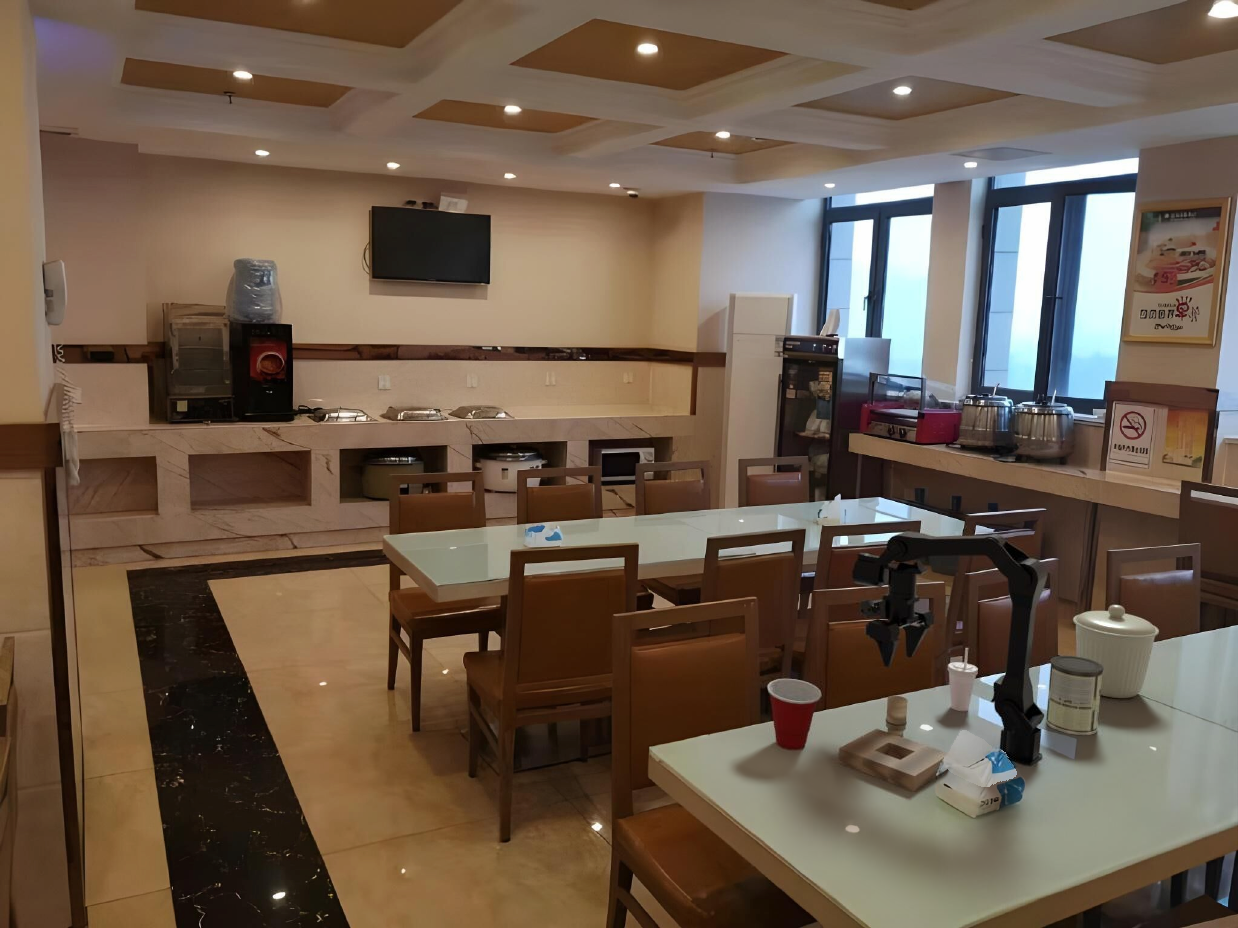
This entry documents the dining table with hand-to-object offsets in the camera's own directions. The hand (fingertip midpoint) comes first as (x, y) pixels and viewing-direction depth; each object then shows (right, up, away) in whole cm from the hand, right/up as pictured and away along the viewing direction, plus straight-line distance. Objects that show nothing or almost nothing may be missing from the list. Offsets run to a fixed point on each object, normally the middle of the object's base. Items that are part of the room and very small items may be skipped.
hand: (898, 661), depth 206 cm
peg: (-2, -14, -6) cm, 16 cm away
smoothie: (+17, -13, +10) cm, 23 cm away
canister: (+57, -12, +23) cm, 63 cm away
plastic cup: (-25, -15, -11) cm, 31 cm away
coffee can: (+38, -14, +2) cm, 41 cm away
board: (-7, -16, -20) cm, 26 cm away
